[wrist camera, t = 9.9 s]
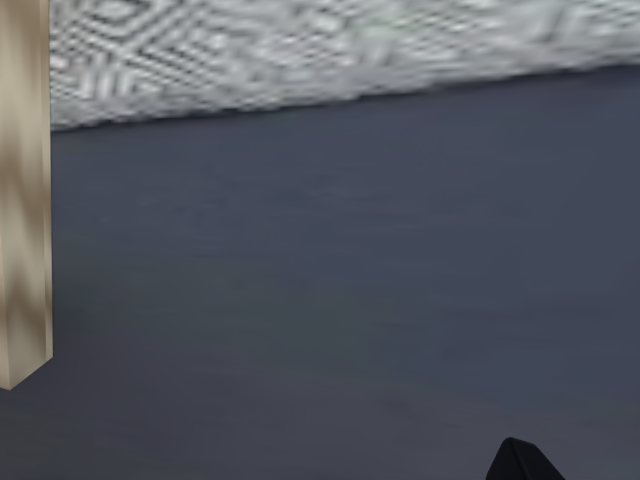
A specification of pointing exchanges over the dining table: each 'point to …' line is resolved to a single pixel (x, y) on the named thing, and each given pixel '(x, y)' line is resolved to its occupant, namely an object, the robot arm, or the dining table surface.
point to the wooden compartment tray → (24, 191)
